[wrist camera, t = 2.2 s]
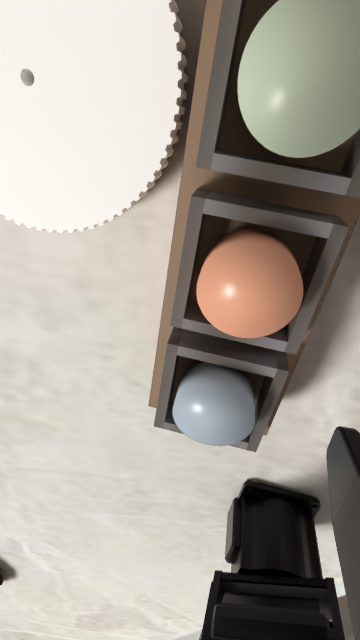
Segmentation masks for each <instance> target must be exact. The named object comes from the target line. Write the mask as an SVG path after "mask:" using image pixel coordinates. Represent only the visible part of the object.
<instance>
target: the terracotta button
mask: <svg viewBox="0 0 360 640" xmlns="http://www.w3.org/2000/svg"><path fill="white" fill-rule="evenodd" d="M196 292H197V301H198V304H199V307H200V309H201V311H202V313H203V315H204V316H205V318H206V319H207V320H208V321H209V322H210V323H211V324H212V325H213V326H214V327H216V328H217V329H218V330H220V331H222V332H224V333H226V334H229V335H232V336H235V337H241V338H258V337H263V336H267V335H270V334H272V333H275V332H276V331H278V330H280V329H282V328H283V327H284V326H286V325H287V324H288V323H289V322H290V321H291V320H292V319H293V318H294V316H295V315H296V313H297V312H298V310H299V308H300V305H301V302H302V298H303V282H302V278H301V274H300V271H299V268H298V265H297V262H296V259H295V256H294V254H293V252H292V250H291V249H290V247H289V246H288V245H287V244H286V243H285V242H284V241H283V240H282V239H280V238H279V237H277V236H276V235H274V234H272V233H269V232H266V231H263V230H257V229H246V230H240V231H236V232H233V233H230V234H228V235H226V236H225V237H223V238H222V239H220V240H219V241H218V242H217V243H216V244H214V246H213V247H212V248H211V249H210V251H209V252H208V254H207V256H206V258H205V261H204V263H203V266H202V269H201V272H200V275H199V278H198V282H197V289H196Z"/></svg>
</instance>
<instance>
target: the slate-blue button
mask: <svg viewBox="0 0 360 640" xmlns="http://www.w3.org/2000/svg"><path fill="white" fill-rule="evenodd" d="M172 412H173V418H174V421H175V423H176V425H177V427H178V428H179V429H180V430H181V431H182V432H183V433H184V434H185V435H186V436H188V437H189V438H191V439H193V440H195V441H197V442H200V443H203V444H207V445H212V446H226V445H231V444H235V443H237V442H240V441H241V440H243V439H245V438H246V437H247V436H248V435H249V434H250V433H251V431H252V429H253V427H254V423H255V393H254V387H253V384H252V382H251V381H250V379H249V378H248V377H247V375H246V374H244V373H243V372H242V371H241V370H238V369H234V368H230V367H225V366H221V365H217V364H213V363H208V362H205V363H200V364H197V365H195V366H193V367H191V368H190V369H188V370H187V371H186V372H185V373H184V375H183V376H182V378H181V380H180V384H179V387H178V391H177V394H176V398H175V402H174V405H173V411H172Z"/></svg>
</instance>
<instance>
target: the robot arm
mask: <svg viewBox="0 0 360 640" xmlns="http://www.w3.org/2000/svg"><path fill="white" fill-rule="evenodd" d="M327 470H328V482H329V494H330V506H331V516H332V524H333V530H334V536H335V541H336V546H337V551H338V556H339V561H340V566H341V571H342V577H343V582H344V587H345V592H346V597H347V601H348V607H349V612H350V617H351V622H352V627H353V632H354V637H355V640H360V433H359V432H358V431H357V430H356V429H353V428H347V427H341V426H340V427H337V428H336V429H335V431H334V434H333V436H332V439H331V441H330V444H329V446H328V449H327ZM319 509H320V501H319V500H318V499H316V498H313V497H309V496H305V495H301V494H297V493H294V492H290V491H286V490H282V489H278V488H274V487H270V486H267V485H263V484H259V483H255V482H251V481H246V482H245V483H244V484H243V487H242V489H241V491H240V494H239V496H238V498H237V497H236V498H235V499H234V500H233V502H232V505H231V507H230V510H229V512H228V519H227V535H226V551H225V560H226V561H227V563H231V564H232V567H231V573H228V572H222V571H218V570H215V573H214V579H213V581H212V583H211V588H210V593H209V598H208V603H207V609H206V614H205V619H204V624H203V629H202V632H201V635H200V638H199V640H345V637H344V632H343V627H342V621H341V616H340V611H339V606H338V600H337V595H336V589H335V584H334V579H333V578H328V577H326V579H323V576H322V569H321V563H320V556H319V550H318V543H317V537H316V530H315V524H314V516H315V515H316V513H317V512H318V510H319ZM329 619H332V622H329Z"/></svg>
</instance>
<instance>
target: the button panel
mask: <svg viewBox="0 0 360 640" xmlns="http://www.w3.org/2000/svg"><path fill="white" fill-rule="evenodd" d="M278 1H279V0H206V6H205V13H204V20H203V27H202V34H201V41H200V48H199V55H198V62H197V69H196V76H195V83H194V90H193V98H192V105H191V112H190V119H189V126H188V133H187V140H186V147H185V154H184V161H183V168H182V175H181V182H180V189H179V196H178V203H177V210H176V217H175V224H174V231H173V238H172V245H171V252H170V259H169V266H168V273H167V280H166V287H165V294H164V301H163V308H162V315H161V322H160V329H159V336H158V343H157V350H156V357H155V364H154V371H153V378H152V385H151V392H150V399H149V406H150V407H154V408H157V410H156V417H155V423H154V426H155V427H159V428H163V429H167V430H170V431H174V432H178V433H182V434H184V433H183V432H182V431H181V430H180V429H179V428H178V427H177V425H176V423H175V421H174V418H173V412H172V411H173V405H174V402H175V398H176V394H177V391H178V387H179V384H180V380H181V378H182V376H183V375H184V373H185V372H186V371H187V370H188V369H190V368H191V367H193V366H195V365H197V364H200V363H205V362H208V363H213V364H217V365H221V366H225V367H230V368H234V369H238V370H241V371H242V372H243V373H244V374H246V375H247V377H248V378H249V379H250V381H251V382H252V384H253V387H254V393H255V423H254V427H253V429H252V431H251V433H250V434H249V435H248V436H247V437H246V438H245V439H243V440H241V441H240V442H237V443H235V444H231V445H230V446H234V447H238V448H242V449H245V450H249V451H253V452H256V451H257V448H258V446H259V443H260V441H261V438H262V436H263V435H267V433H268V431H269V428H270V426H271V424H272V421H273V419H274V416H275V414H276V412H277V409H278V407H279V405H280V402H281V400H282V398H283V395H284V393H285V390H286V388H287V386H288V383H289V381H290V379H291V376H292V374H293V372H294V369H295V367H296V364H297V362H298V360H299V357H300V355H301V353H302V350H303V348H304V346H305V343H306V341H307V339H308V336H309V334H310V331H311V329H312V327H313V324H314V322H315V320H316V317H317V315H318V313H319V310H320V308H321V305H322V303H323V301H324V298H325V296H326V294H327V291H328V289H329V287H330V284H331V282H332V279H333V277H334V275H335V272H336V270H337V268H338V265H339V263H340V261H341V258H342V256H343V253H344V251H345V249H346V246H347V244H348V242H349V239H350V237H351V235H352V232H353V230H354V227H355V225H356V223H357V220H358V218H359V216H360V129H359V130H358V131H357V132H356V133H355V134H353V135H352V136H351V137H350V138H349V139H348V140H346V141H345V142H344V143H342V144H341V145H339V146H337V147H336V148H334V149H332V150H330V151H327V152H325V153H323V154H319V155H316V156H311V157H305V158H294V157H286V156H283V155H279V154H277V153H274V152H272V151H270V150H269V149H267V148H265V147H264V146H263V145H262V144H261V143H259V142H258V141H257V140H256V138H255V137H254V136H253V135H252V134H251V132H250V131H249V129H248V128H247V126H246V123H245V121H244V119H243V116H242V113H241V110H240V106H239V101H238V74H239V67H240V63H241V59H242V55H243V52H244V49H245V47H246V44H247V42H248V40H249V38H250V36H251V34H252V32H253V30H254V29H255V27H256V26H257V24H258V22H259V21H260V20H261V19H262V17H263V16H264V15H265V13H266V12H267V11H268V10H269V9H270V8H271V7H272V6H273V5H274V4H275V3H276V2H278ZM246 229H257V230H263V231H266V232H269V233H272V234H274V235H276V236H277V237H279V238H280V239H282V240H283V241H284V242H285V243H286V244H287V245H288V246H289V247H290V249H291V250H292V252H293V254H294V256H295V259H296V262H297V265H298V268H299V271H300V274H301V278H302V282H303V298H302V302H301V305H300V308H299V310H298V312H297V313H296V315H295V316H294V318H293V319H292V320H291V321H290V322H289V323H288V324H287V325H286V326H284V327H283V328H282V329H280V330H278V331H276V332H275V333H272V334H270V335H267V336H263V337H258V338H241V337H235V336H232V335H229V334H226V333H224V332H222V331H220V330H218V329H217V328H216V327H214V326H213V325H212V324H211V323H210V322H209V321H208V320H207V319H206V318H205V316H204V315H203V313H202V311H201V309H200V307H199V304H198V301H197V292H196V289H197V282H198V278H199V275H200V272H201V269H202V266H203V263H204V261H205V258H206V256H207V254H208V252H209V251H210V249H211V248H212V247H213V246H214V244H216V243H217V242H218V241H219V240H220V239H222V238H223V237H225V236H226V235H228V234H230V233H233V232H236V231H240V230H246Z"/></svg>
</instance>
